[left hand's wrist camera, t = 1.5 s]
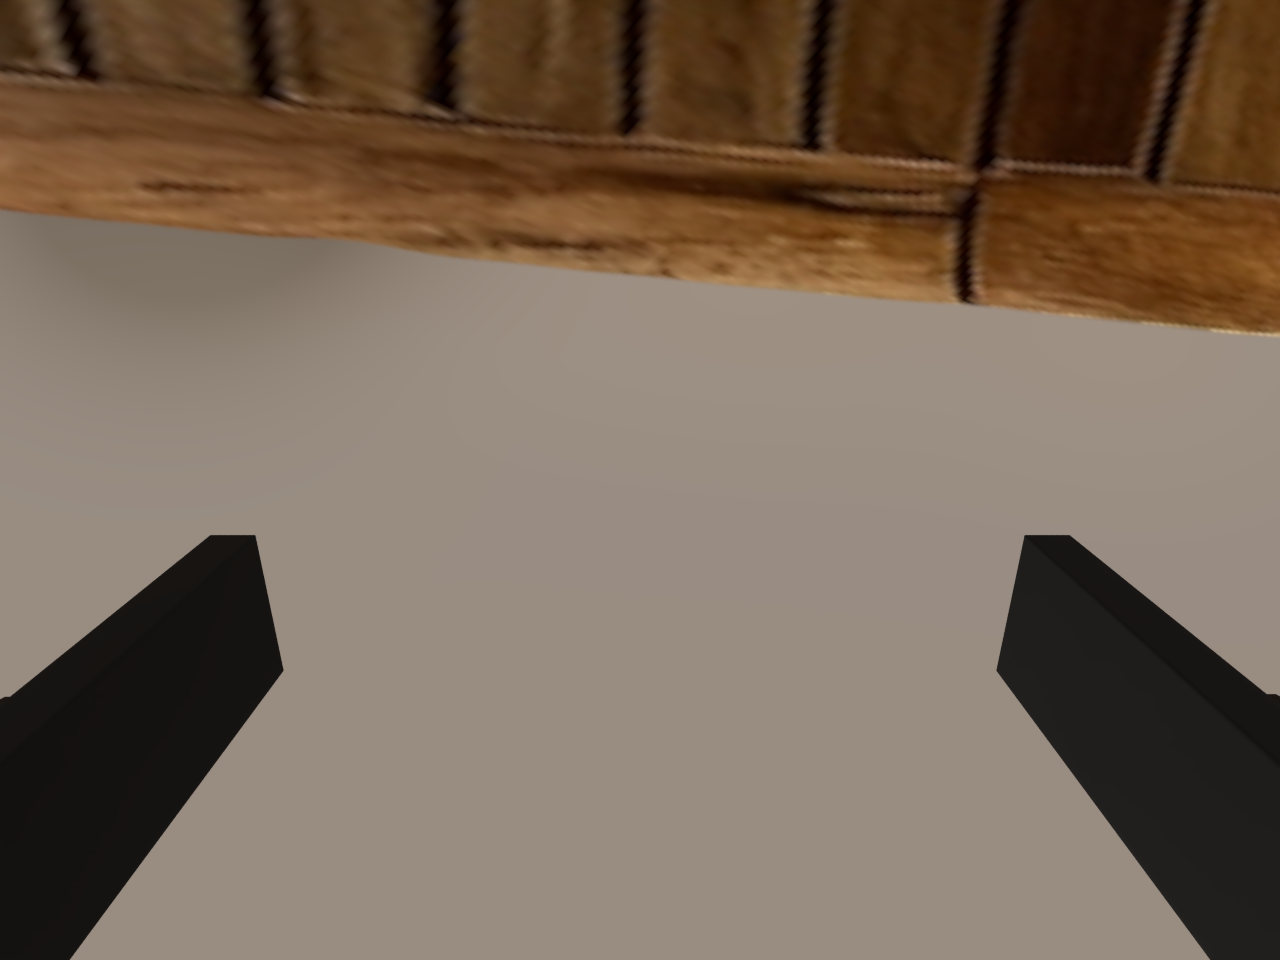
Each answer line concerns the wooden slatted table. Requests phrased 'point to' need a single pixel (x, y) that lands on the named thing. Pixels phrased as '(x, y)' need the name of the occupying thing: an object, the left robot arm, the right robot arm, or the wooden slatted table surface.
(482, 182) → the wooden slatted table surface
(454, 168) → the wooden slatted table surface
